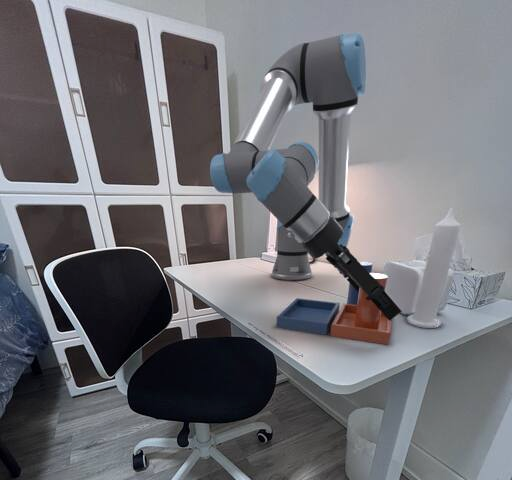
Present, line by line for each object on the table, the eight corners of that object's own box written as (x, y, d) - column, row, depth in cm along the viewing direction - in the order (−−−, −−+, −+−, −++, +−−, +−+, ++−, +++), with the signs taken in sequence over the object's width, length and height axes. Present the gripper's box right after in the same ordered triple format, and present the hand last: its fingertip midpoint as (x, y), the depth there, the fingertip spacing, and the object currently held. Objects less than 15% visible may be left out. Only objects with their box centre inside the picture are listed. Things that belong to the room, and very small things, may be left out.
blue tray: (296, 307, 81) (296, 298, 79) (338, 312, 76) (339, 303, 75) (276, 327, 68) (276, 316, 67) (326, 335, 63) (327, 324, 62)
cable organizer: (375, 300, 85) (382, 259, 80) (408, 297, 87) (416, 258, 82) (408, 318, 72) (419, 271, 67) (446, 315, 73) (459, 268, 68)
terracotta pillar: (355, 324, 67) (362, 272, 62) (378, 327, 65) (388, 274, 60) (352, 332, 63) (360, 277, 58) (376, 336, 61) (387, 279, 56)
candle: (419, 315, 73) (445, 206, 62) (446, 324, 68) (481, 206, 57) (400, 320, 70) (424, 207, 59) (427, 330, 65) (460, 207, 54)
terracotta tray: (342, 312, 76) (343, 303, 75) (390, 318, 72) (392, 308, 70) (330, 335, 63) (331, 324, 62) (388, 344, 59) (390, 333, 58)
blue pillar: (347, 304, 82) (353, 261, 77) (366, 306, 80) (373, 262, 75) (345, 309, 78) (350, 264, 73) (364, 312, 76) (371, 265, 71)
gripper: (292, 237, 67) (348, 298, 74) (313, 255, 45) (391, 340, 52) (316, 212, 65) (372, 277, 72) (351, 218, 43) (428, 312, 49)
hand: (380, 304), depth 62 cm, fingers open, 13 cm apart
